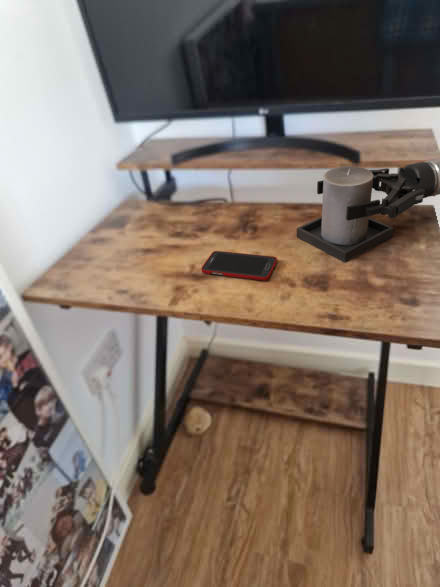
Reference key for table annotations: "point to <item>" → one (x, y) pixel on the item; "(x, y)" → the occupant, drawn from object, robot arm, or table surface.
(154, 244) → the table surface
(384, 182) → the robot arm
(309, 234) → the candle pad
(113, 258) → the table surface
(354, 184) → the pillar candle
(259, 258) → the cell phone
